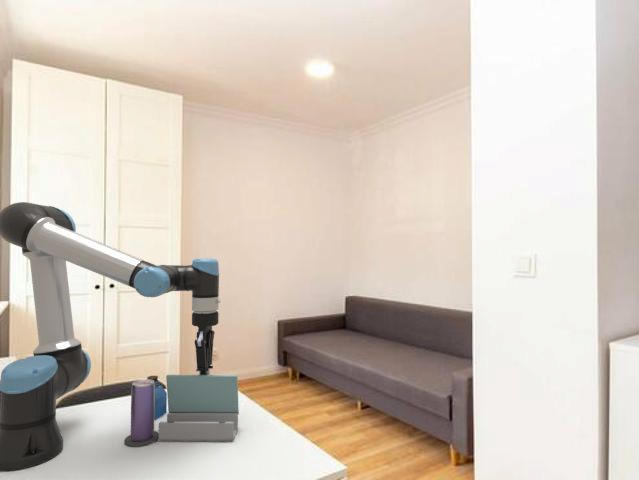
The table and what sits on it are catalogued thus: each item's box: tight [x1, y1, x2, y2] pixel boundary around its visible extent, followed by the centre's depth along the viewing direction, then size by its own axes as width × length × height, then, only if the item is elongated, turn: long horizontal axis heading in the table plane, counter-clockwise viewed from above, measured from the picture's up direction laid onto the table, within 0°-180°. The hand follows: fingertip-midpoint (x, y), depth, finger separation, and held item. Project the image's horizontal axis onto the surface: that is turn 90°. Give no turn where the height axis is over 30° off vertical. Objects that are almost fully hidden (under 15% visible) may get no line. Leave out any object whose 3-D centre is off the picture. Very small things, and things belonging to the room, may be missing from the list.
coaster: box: [123, 430, 159, 448], centre depth 111 cm, size 9×9×1 cm
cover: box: [165, 374, 240, 416], centre depth 116 cm, size 20×12×1 cm
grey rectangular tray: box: [158, 412, 239, 443], centre depth 113 cm, size 20×7×5 cm, turn 90°
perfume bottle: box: [146, 375, 168, 421], centre depth 127 cm, size 6×6×12 cm
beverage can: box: [129, 378, 155, 442], centre depth 111 cm, size 6×6×15 cm
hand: (204, 392), depth 118 cm, fingers closed
